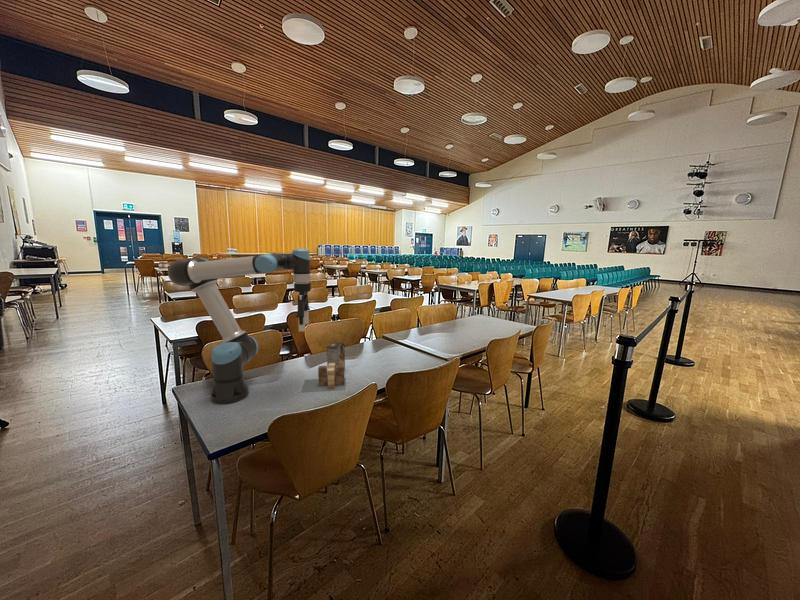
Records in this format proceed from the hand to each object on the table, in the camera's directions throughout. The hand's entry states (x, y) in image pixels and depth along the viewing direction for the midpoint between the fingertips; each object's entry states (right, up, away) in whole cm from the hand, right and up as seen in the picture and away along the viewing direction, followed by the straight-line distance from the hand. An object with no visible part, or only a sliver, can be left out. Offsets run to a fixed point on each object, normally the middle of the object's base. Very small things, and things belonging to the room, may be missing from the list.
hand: (304, 327), depth 158 cm
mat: (+9, -29, +2) cm, 30 cm away
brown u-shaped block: (+13, -28, +3) cm, 31 cm away
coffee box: (+12, -26, +18) cm, 34 cm away
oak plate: (+13, -28, +3) cm, 31 cm away
